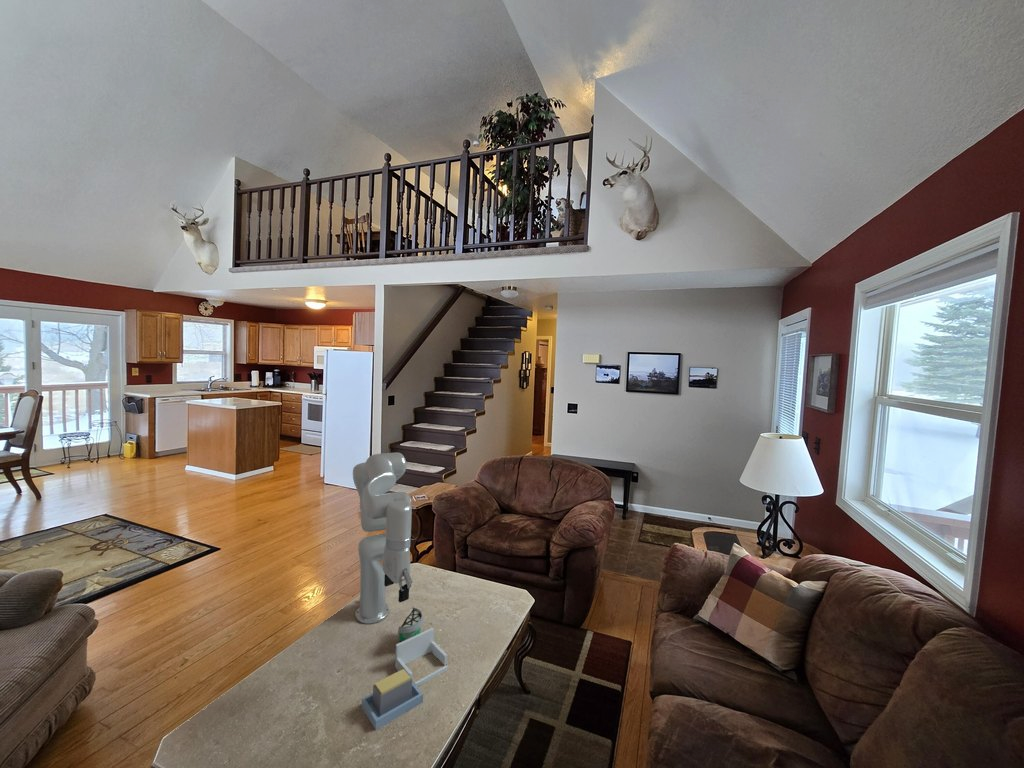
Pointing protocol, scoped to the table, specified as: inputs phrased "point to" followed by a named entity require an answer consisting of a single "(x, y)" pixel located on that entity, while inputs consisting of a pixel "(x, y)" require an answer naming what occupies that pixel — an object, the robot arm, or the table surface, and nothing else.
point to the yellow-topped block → (392, 692)
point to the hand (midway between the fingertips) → (396, 592)
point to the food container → (411, 625)
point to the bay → (419, 653)
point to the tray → (394, 713)
